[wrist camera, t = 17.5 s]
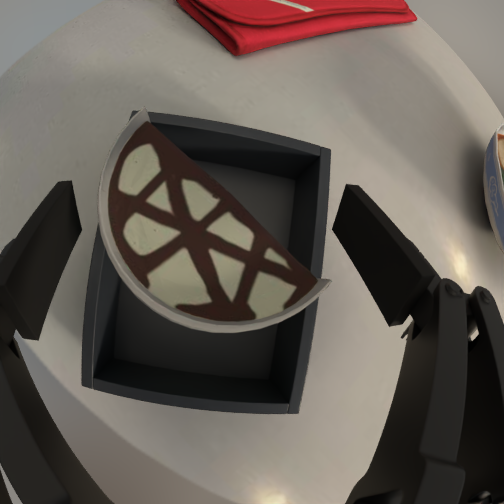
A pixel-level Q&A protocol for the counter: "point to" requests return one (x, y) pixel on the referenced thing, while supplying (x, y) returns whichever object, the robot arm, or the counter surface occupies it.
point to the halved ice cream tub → (192, 240)
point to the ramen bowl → (495, 184)
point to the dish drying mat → (289, 19)
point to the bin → (202, 342)
